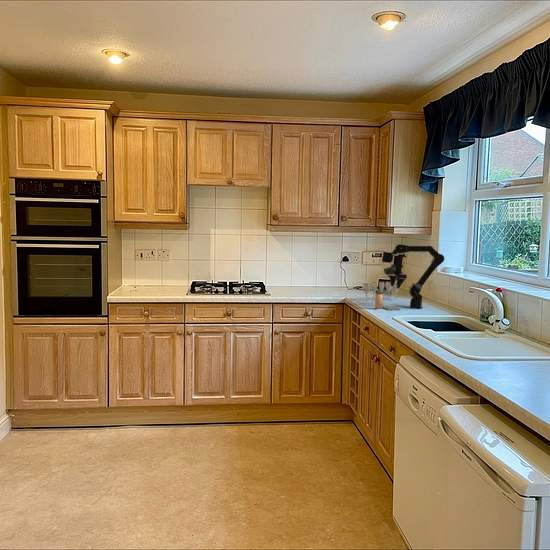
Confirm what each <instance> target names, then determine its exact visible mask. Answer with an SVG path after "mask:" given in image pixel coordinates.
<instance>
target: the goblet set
mask: <svg viewBox="0 0 550 550" xmlns="http://www.w3.org/2000/svg"><path fill="white" fill-rule="evenodd" d="M377 285H378V287H379V288H378V290H383V291H384V289H385V290H386V291H387V294H388V295H387V297H388V299H387V300H390V292H391V291H392V290H393V291H394V294H395V296H397V295H398V292H399V290H400V288H399V289H397V282H395V283H394V285H393V287H392V286H391V282H390V281H379V282H378V284H377V282H374V281H373V282H371V283H363V284H362V291H364V293H365V299H364V301H368V300H367V296H368V293H369V292H370V291H371V289H372V292H373V294H376V293H375V290H377ZM394 300H397V298H395V299H394ZM371 302H375V299H373V300H371Z"/></svg>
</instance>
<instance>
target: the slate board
mask: <svg viewBox="0 0 550 550" xmlns="http://www.w3.org/2000/svg"><path fill="white" fill-rule="evenodd" d="M384 308H385V309H384ZM382 309H384V310H386V309H387V310H386V311H389V310H390V311H401V308H398V307H396V306H394V305H382Z"/></svg>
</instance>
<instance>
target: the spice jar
mask: <svg viewBox="0 0 550 550" xmlns="http://www.w3.org/2000/svg"><path fill="white" fill-rule="evenodd" d="M383 299H384V289H383V290H380V289H376V290H375V293H374V300H375V301H374V303H375V304H374V310H377V309H382V310H383V308H382V306H384V305H383V304H384V303H383V302H384V300H383Z"/></svg>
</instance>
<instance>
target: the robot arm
mask: <svg viewBox="0 0 550 550" xmlns="http://www.w3.org/2000/svg"><path fill="white" fill-rule="evenodd" d="M412 252H414V253H416V252H417V253H419V252H420V253H421V252H422V253H423V252H426V253H429V254H430V256H431V257H432V259H431V261H430V264H429V266H427V268H426V270H425V271H424V272H423V273H422V275H421V276H420V277H419V279H418V280H417V282H415V283H414V282H412V284H411V285H410V286H409V287H408V288H409V289H408V293H409V295H410V296H411V298H410V299H411V300H410V301H409V309H415V308H416V309H418V310H420V308H421V309H422V308H424V307H423V295H422V294H420V293H421V291H422V288H423V286H424V285H425V283H426V282H427V280H428V279H429V278H430V277H431V275H432V273H434V271H435V270H436V268H438V267H440V265H441V264H443V262H444V261H445V256H444V255H443V254H442V253H439V252H438V251H437V250H436V249H434V247H433V246H432V245H407V244H403V243H398V244H396V245H395V246H394V249H393V250H392V251H391V252H388V251H383V253H382V255H381V262H382V263H388V264H389V263H392V264H391V266H389V267H386V268H383V273H384V275H387V277H388V278H389V282H391V286H392V287H393V285H394V283H397V289H399V290H400V287H401V286H402V284H403V283H404V282H405V281H406V279H407V277H408V275H407V274H406V273H403V272H402V269H403V268H404V265H403V263H404V261H403V260H404V258H407V255H406V253H412Z"/></svg>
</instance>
